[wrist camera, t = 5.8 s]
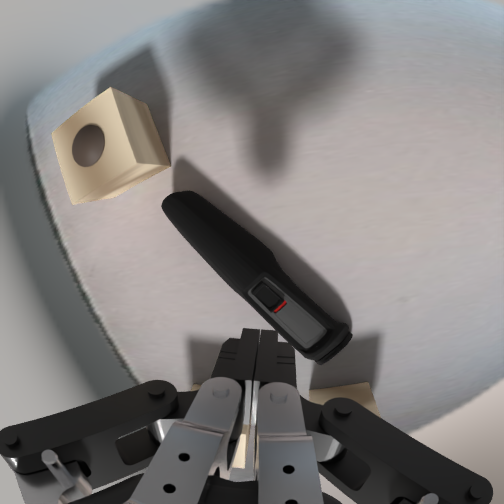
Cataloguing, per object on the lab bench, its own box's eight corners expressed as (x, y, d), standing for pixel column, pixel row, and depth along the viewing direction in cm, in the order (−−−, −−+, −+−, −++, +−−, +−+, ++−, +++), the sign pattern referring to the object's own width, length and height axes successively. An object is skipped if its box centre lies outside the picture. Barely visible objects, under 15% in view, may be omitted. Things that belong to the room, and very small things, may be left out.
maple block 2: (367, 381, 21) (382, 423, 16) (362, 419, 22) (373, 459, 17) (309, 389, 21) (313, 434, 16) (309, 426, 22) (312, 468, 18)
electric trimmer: (200, 174, 18) (184, 173, 15) (354, 328, 20) (364, 351, 17) (165, 215, 19) (144, 221, 16) (316, 358, 21) (320, 384, 18)
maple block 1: (147, 104, 17) (109, 86, 12) (171, 166, 18) (135, 163, 13) (94, 139, 18) (50, 133, 13) (114, 197, 19) (71, 205, 14)
